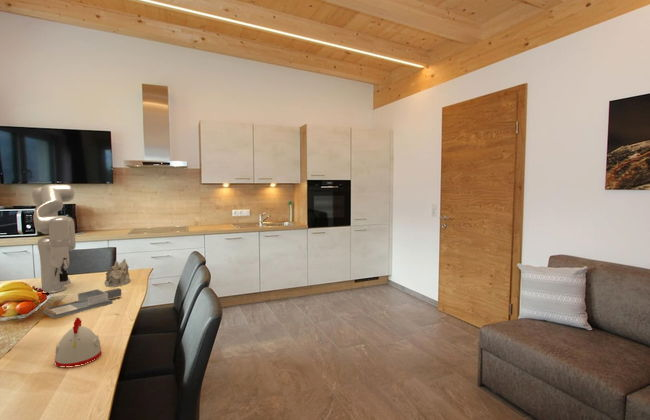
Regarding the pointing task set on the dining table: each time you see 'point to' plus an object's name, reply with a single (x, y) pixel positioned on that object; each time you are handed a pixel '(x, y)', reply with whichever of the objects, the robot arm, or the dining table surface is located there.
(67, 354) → the kitchen timer
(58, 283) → the flask
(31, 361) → the dining table surface
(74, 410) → the dining table surface
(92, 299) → the housing
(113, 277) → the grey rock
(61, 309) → the base board
